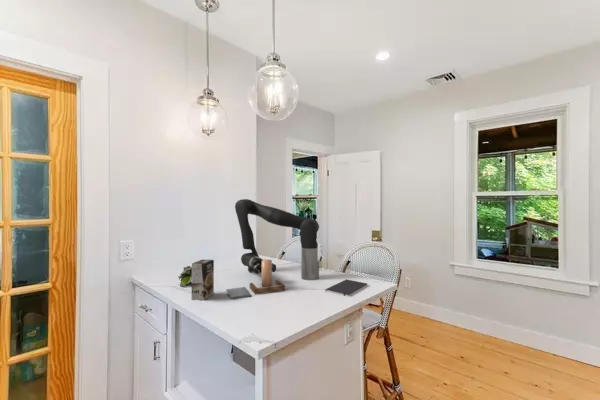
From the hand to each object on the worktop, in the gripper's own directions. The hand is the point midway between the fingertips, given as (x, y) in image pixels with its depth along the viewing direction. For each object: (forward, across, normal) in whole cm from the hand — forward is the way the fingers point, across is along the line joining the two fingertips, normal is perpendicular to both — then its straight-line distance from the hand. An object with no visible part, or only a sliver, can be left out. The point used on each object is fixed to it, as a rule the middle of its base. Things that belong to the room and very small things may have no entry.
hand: (265, 271), depth 144 cm
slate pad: (+3, -14, +9) cm, 17 cm away
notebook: (+16, +37, +9) cm, 42 cm away
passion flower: (-23, -34, +9) cm, 42 cm away
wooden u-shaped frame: (+1, 0, +8) cm, 9 cm away
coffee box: (0, -30, +9) cm, 31 cm away
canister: (+1, 0, +8) cm, 9 cm away
